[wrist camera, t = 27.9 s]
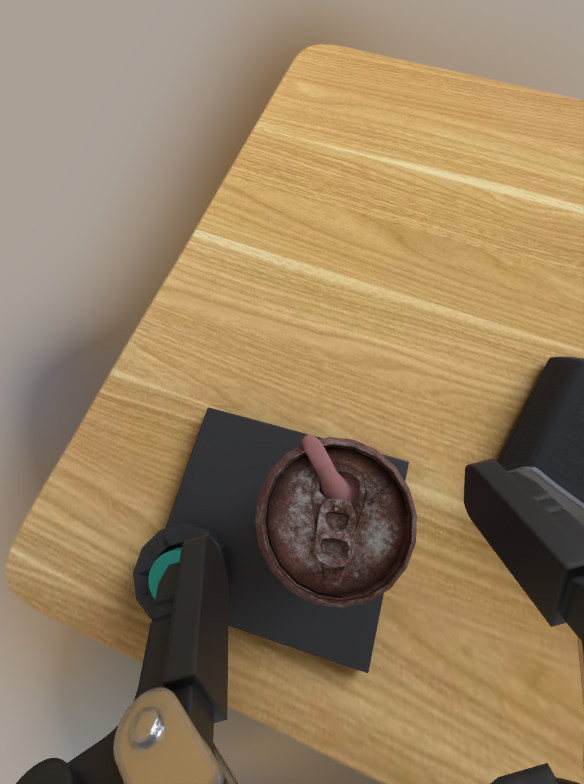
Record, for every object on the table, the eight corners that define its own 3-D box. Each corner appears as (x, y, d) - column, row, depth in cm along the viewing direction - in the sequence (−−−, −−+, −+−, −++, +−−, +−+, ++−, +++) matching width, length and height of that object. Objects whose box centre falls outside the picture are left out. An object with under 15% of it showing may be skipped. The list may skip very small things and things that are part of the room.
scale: (140, 596, 26) (119, 609, 23) (205, 409, 30) (195, 400, 27) (363, 673, 24) (370, 696, 22) (404, 463, 28) (415, 459, 25)
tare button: (150, 591, 24) (140, 597, 23) (167, 541, 25) (158, 544, 23) (195, 606, 24) (187, 613, 22) (211, 555, 24) (205, 559, 23)
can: (335, 446, 27) (362, 399, 14) (380, 524, 26) (460, 558, 12) (264, 485, 27) (220, 476, 13) (305, 568, 25) (302, 653, 12)
